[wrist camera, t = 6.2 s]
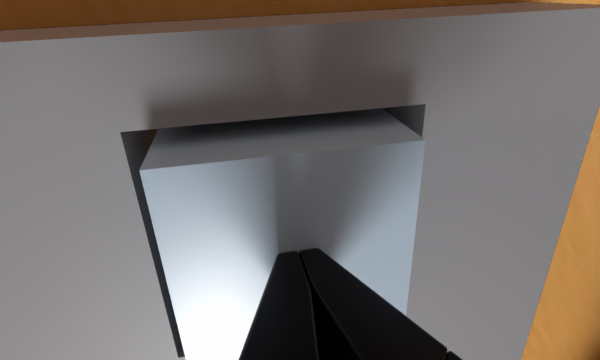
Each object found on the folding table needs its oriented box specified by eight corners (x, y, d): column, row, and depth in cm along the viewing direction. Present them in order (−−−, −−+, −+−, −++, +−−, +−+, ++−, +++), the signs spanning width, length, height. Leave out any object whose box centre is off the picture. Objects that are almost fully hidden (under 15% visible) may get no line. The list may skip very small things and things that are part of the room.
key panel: (524, 1, 10) (629, 6, 8) (436, 447, 19) (470, 521, 16) (-68, 33, 8) (-206, 53, 6) (140, 515, 17) (125, 611, 14)
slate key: (378, 105, 9) (425, 140, 7) (370, 272, 11) (403, 336, 9) (159, 125, 8) (139, 170, 6) (196, 299, 11) (189, 375, 9)
